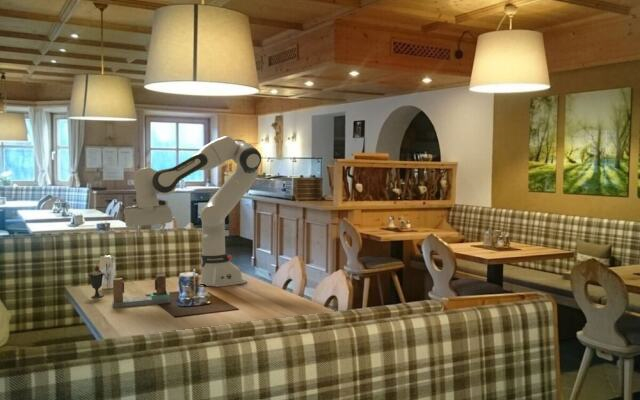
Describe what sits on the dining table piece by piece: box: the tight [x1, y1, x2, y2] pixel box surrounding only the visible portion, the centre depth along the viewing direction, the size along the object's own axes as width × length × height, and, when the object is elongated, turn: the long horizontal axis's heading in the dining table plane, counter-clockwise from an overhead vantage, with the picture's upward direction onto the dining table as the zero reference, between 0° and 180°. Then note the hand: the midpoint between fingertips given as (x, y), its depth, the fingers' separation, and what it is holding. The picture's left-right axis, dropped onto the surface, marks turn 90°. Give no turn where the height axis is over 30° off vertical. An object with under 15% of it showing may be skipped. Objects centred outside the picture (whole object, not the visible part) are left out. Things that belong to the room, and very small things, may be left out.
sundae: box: [88, 263, 104, 299], centre depth 253 cm, size 7×7×15 cm
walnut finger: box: [154, 274, 167, 295], centre depth 242 cm, size 4×4×9 cm
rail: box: [112, 277, 171, 309], centre depth 239 cm, size 22×7×11 cm, turn 111°
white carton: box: [99, 254, 116, 290], centre depth 273 cm, size 7×7×15 cm
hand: (151, 235), depth 256 cm, fingers open, 8 cm apart
